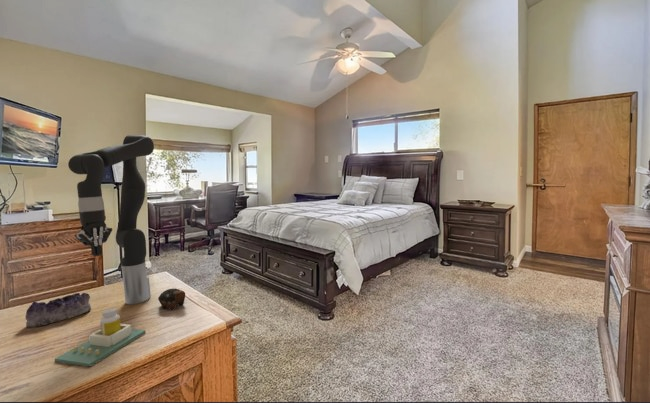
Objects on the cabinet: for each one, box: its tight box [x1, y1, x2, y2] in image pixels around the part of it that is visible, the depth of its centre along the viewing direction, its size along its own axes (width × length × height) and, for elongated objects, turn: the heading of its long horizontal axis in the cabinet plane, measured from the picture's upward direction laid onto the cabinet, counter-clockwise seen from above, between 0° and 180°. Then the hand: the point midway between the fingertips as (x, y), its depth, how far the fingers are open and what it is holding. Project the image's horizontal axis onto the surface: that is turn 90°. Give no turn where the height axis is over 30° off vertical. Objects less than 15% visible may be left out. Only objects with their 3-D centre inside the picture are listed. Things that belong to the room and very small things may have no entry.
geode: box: [25, 292, 92, 329], centre depth 127 cm, size 20×12×10 cm, turn 142°
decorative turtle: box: [157, 288, 186, 311], centre depth 132 cm, size 10×15×8 cm, turn 70°
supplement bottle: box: [100, 307, 121, 336], centre depth 106 cm, size 5×5×10 cm
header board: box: [54, 323, 146, 367], centre depth 103 cm, size 20×14×4 cm
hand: (97, 255), depth 116 cm, fingers closed
